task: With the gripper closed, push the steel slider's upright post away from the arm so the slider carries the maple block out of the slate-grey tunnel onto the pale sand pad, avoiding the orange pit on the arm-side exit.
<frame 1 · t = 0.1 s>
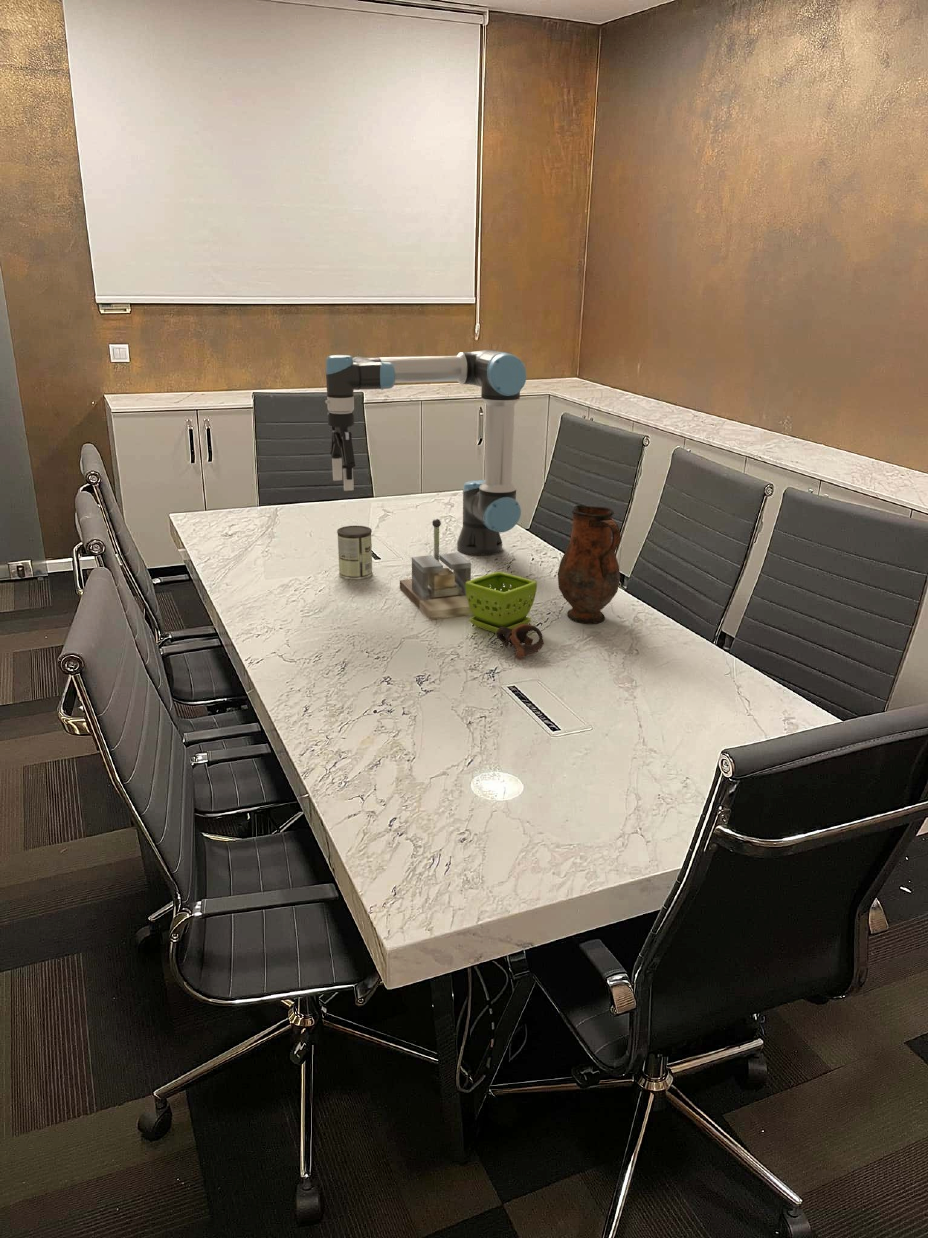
hand: (343, 485, 271), 28 cm above the table, fingers open, 13 cm apart
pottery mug: (519, 652, 229), on the table
block: (440, 591, 261), point 2 cm above the table, touching deck
coffee can: (355, 575, 283), on the table
pitcher: (589, 620, 250), on the table
deck: (440, 600, 262), on the table
flower pot: (499, 627, 244), on the table
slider: (440, 556, 258), point 13 cm above the table, slide at 0.0 cm
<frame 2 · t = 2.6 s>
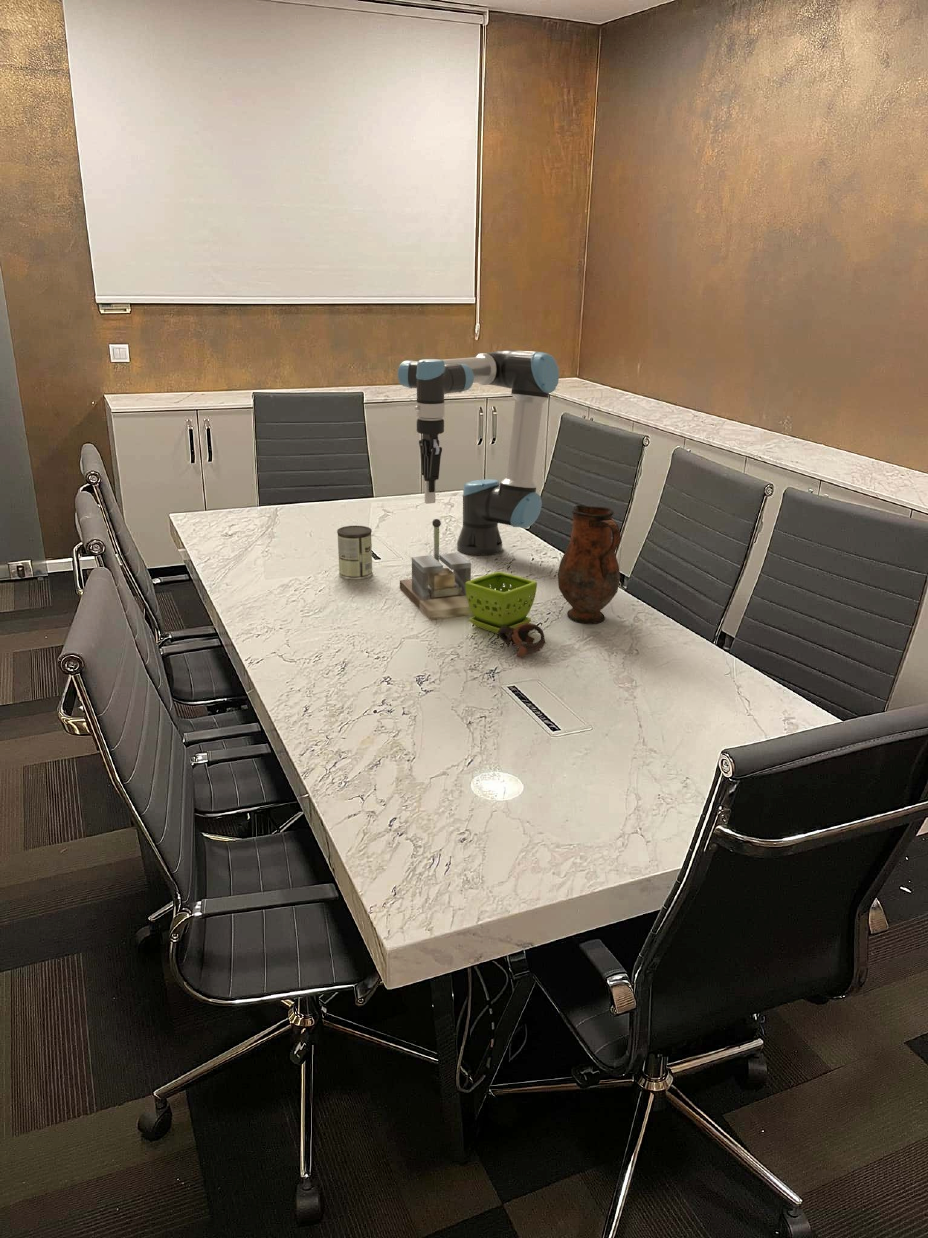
hand: (430, 502, 261), 26 cm above the table, fingers closed
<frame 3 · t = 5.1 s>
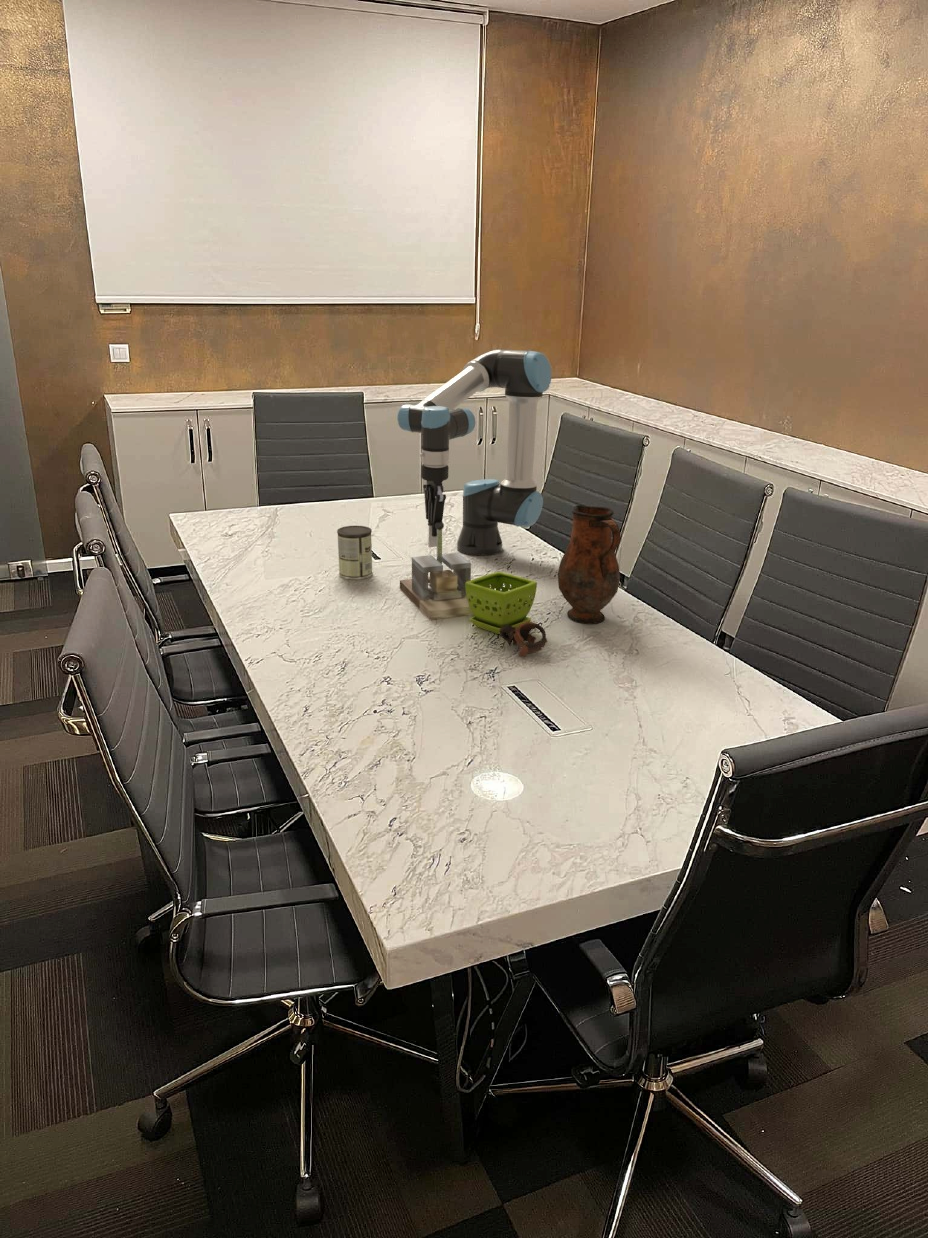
hand: (433, 546, 263), 14 cm above the table, fingers closed
block: (443, 594, 260), point 2 cm above the table, touching deck, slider
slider: (443, 559, 256), point 13 cm above the table, slide at 2.5 cm, touching block, gripper, hand
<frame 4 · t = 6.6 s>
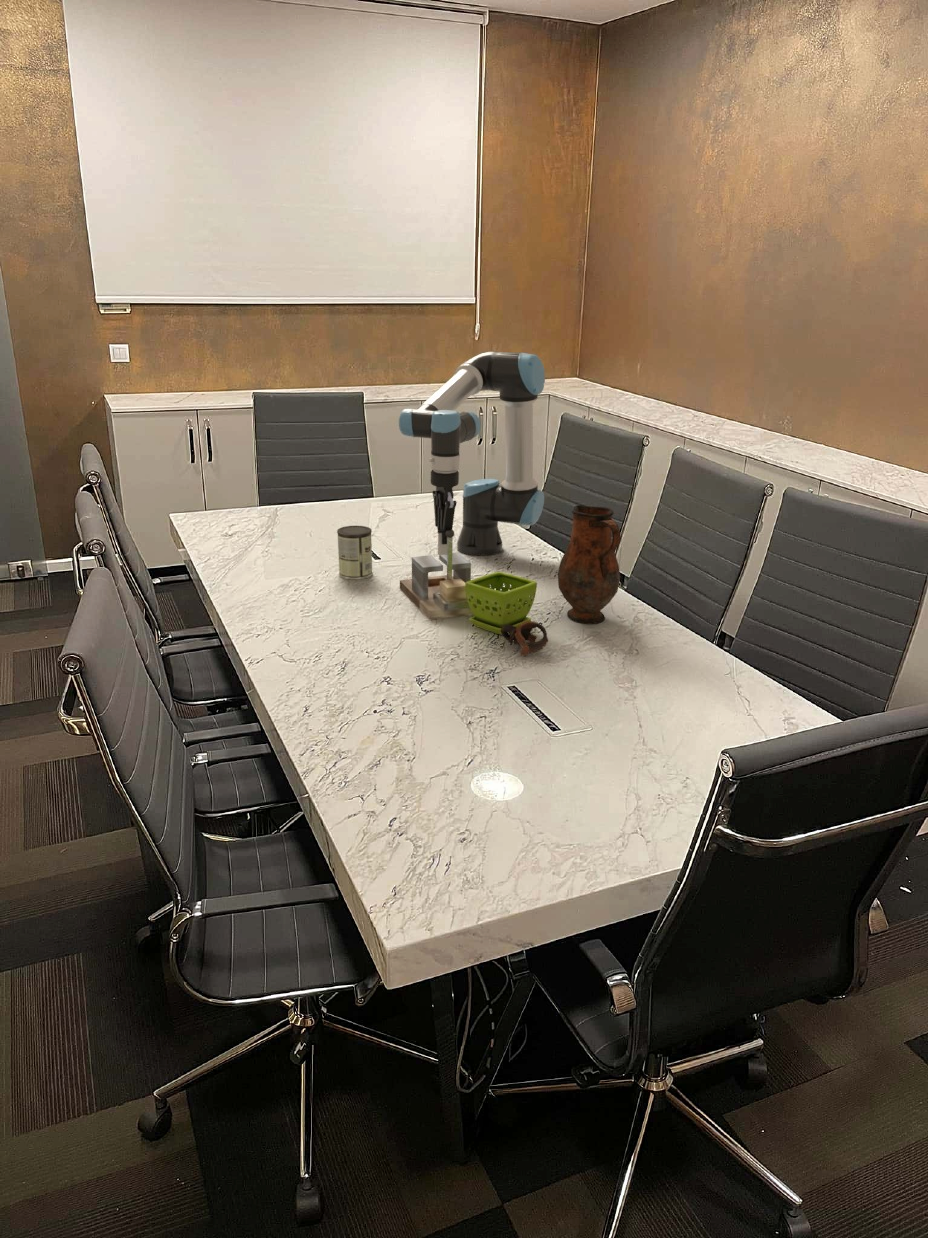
hand: (443, 554, 255), 14 cm above the table, fingers closed
block: (453, 604, 252), point 2 cm above the table, touching deck
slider: (454, 568, 249), point 13 cm above the table, slide at 10.9 cm, touching gripper, hand
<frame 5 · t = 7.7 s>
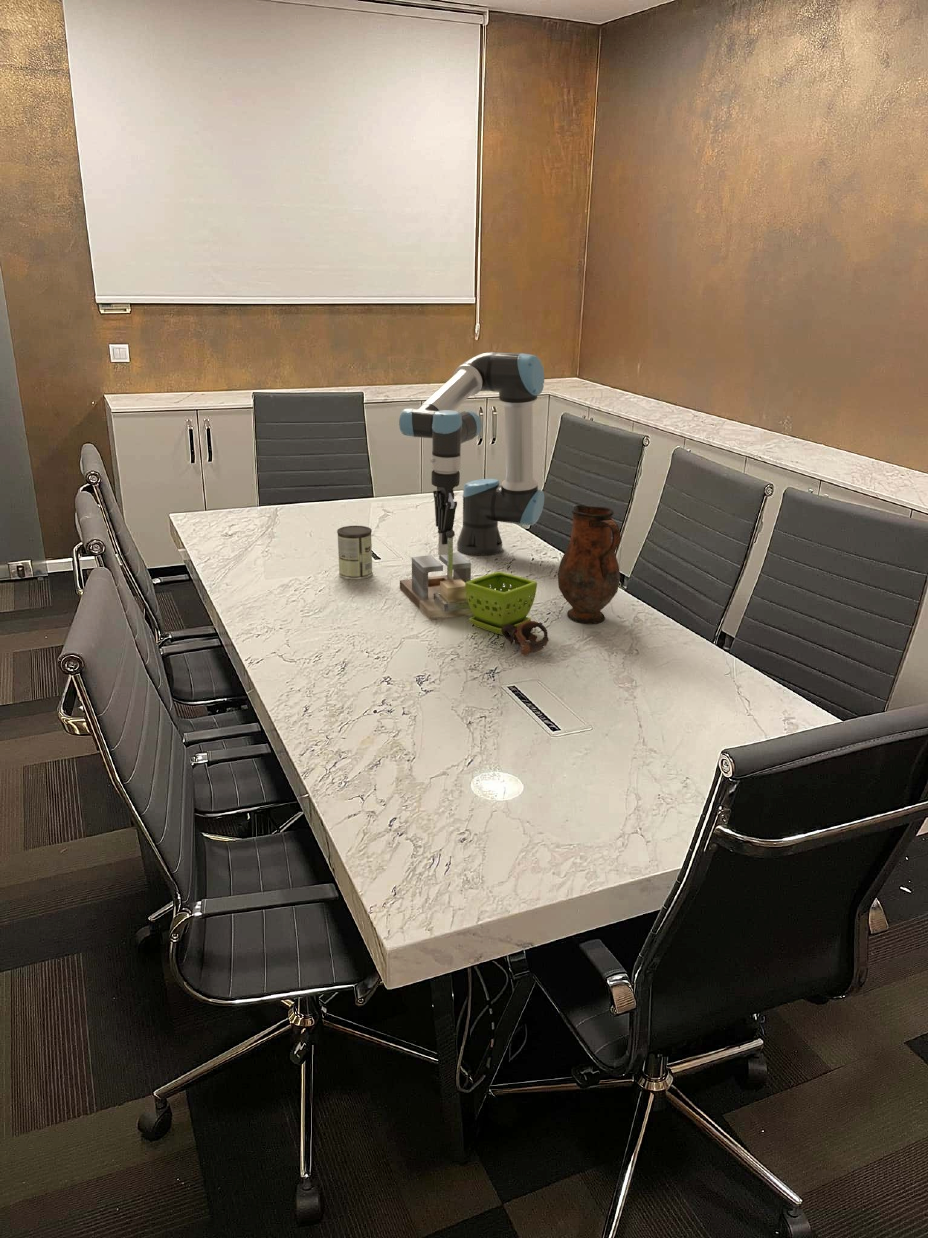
hand: (443, 554, 255), 14 cm above the table, fingers closed
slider: (454, 568, 248), point 13 cm above the table, slide at 11.2 cm, touching gripper, hand
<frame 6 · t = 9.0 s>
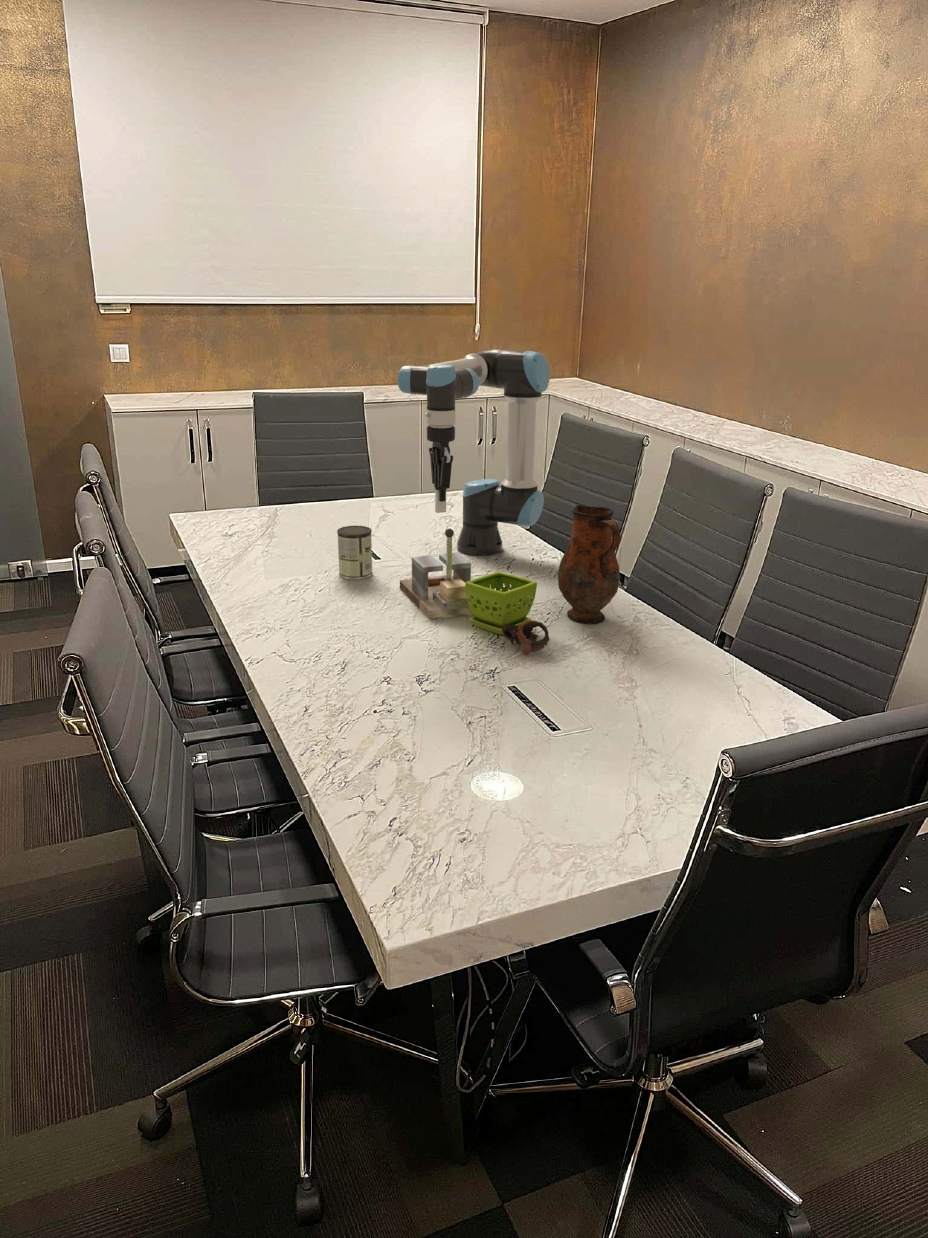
hand: (440, 511, 254), 25 cm above the table, fingers closed
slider: (453, 568, 249), point 13 cm above the table, slide at 10.5 cm
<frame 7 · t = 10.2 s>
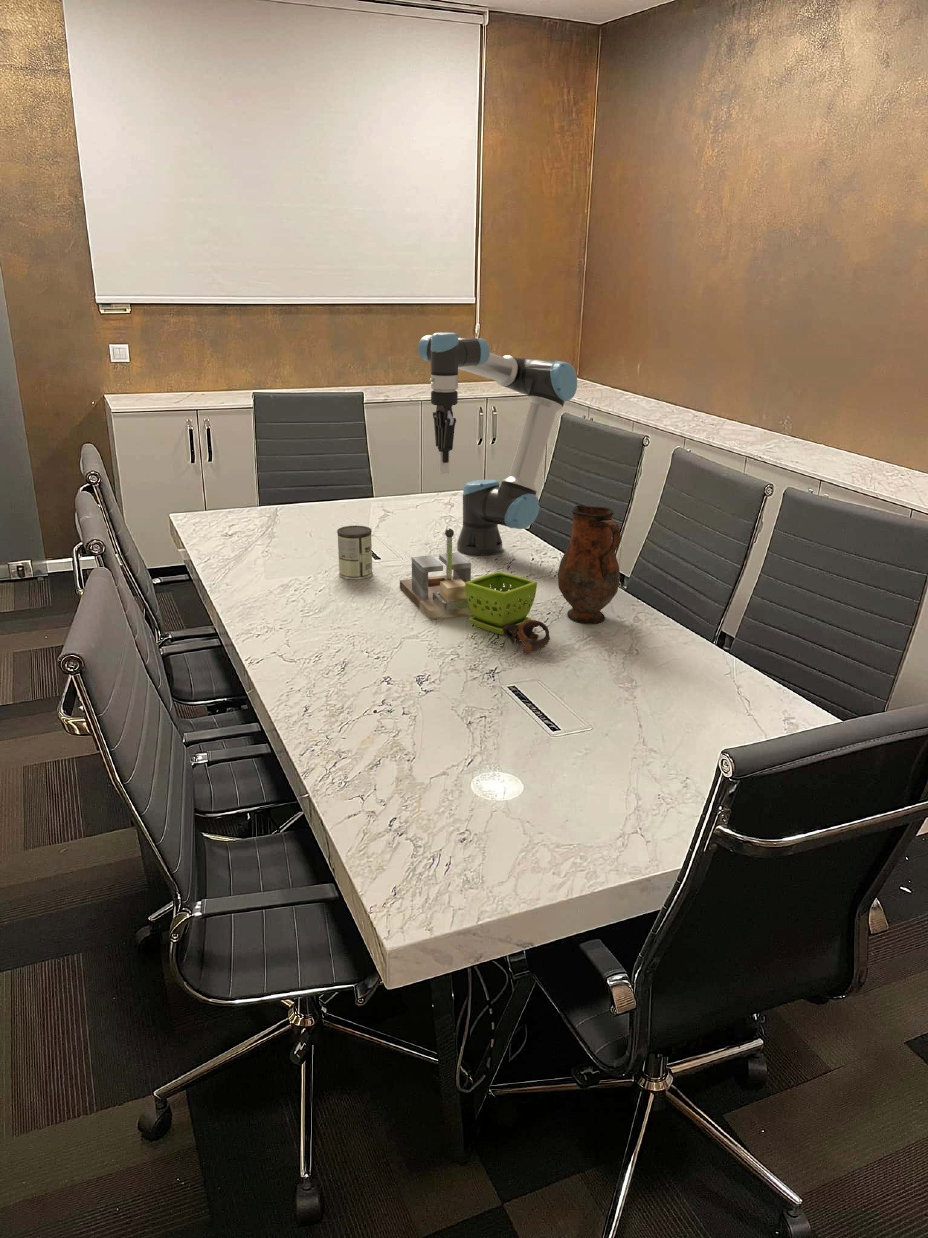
hand: (443, 472, 269), 32 cm above the table, fingers closed
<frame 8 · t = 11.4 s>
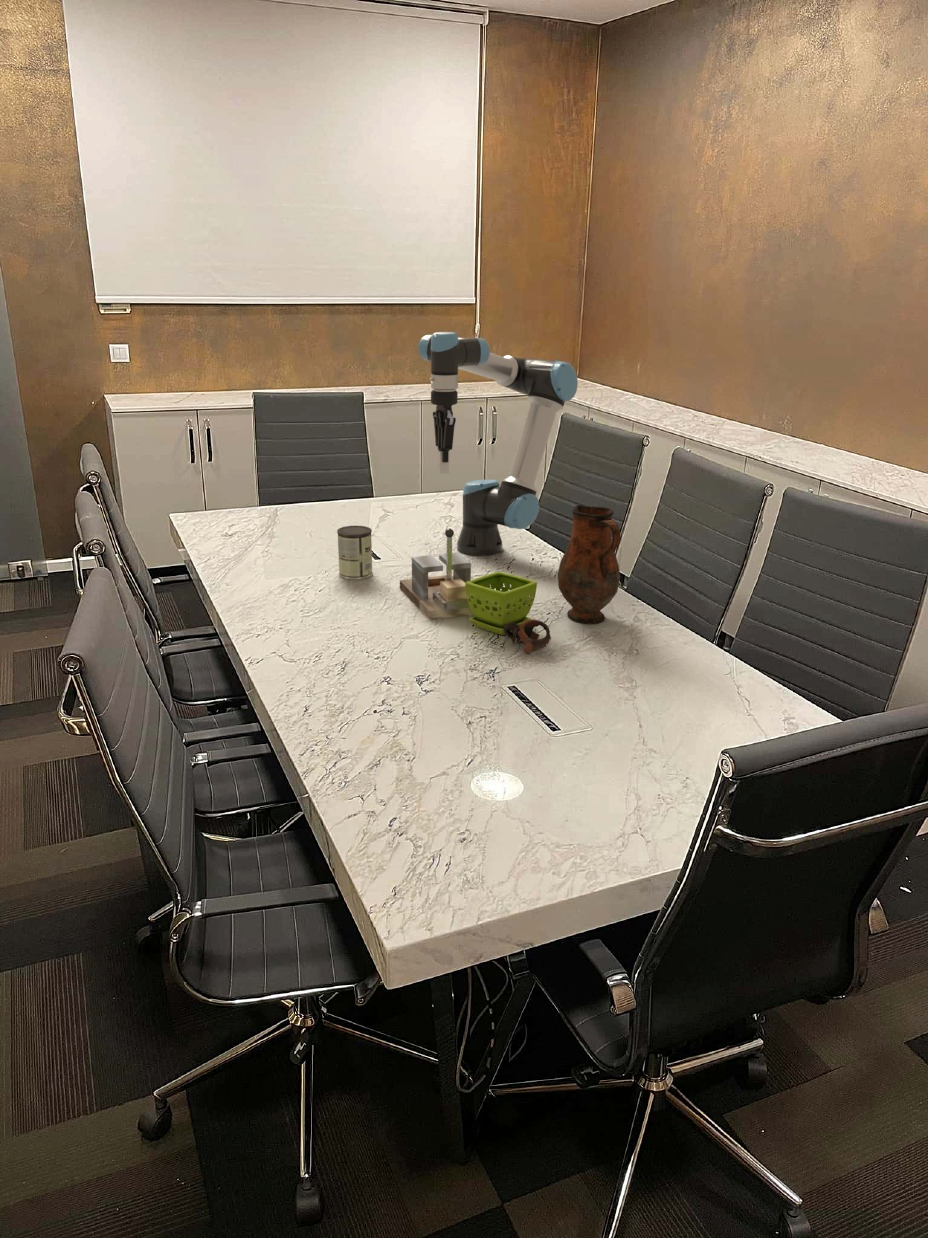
hand: (443, 472, 269), 32 cm above the table, fingers closed
at the end: block 0.1 cm from the target spot on the deck, point 2.5 cm above the deck's base; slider slide at 10.5 cm; block tilted 0° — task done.
